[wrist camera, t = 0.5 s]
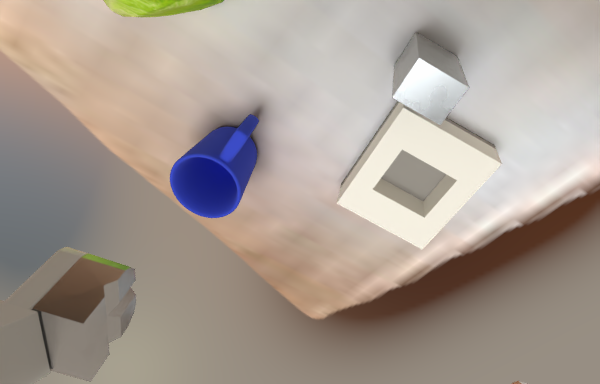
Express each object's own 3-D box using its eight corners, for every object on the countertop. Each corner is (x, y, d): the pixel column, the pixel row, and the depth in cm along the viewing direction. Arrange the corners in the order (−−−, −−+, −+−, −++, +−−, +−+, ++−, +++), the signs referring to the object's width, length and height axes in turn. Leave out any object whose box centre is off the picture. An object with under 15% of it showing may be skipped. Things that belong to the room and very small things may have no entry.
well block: (403, 92, 48) (403, 107, 44) (494, 145, 49) (501, 163, 46) (341, 184, 56) (336, 203, 52) (421, 227, 57) (422, 249, 53)
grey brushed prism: (415, 31, 45) (418, 57, 36) (457, 56, 45) (469, 87, 37) (394, 65, 47) (392, 97, 39) (433, 88, 47) (440, 125, 39)
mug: (293, 122, 53) (273, 160, 44) (244, 186, 59) (218, 230, 51) (237, 80, 51) (205, 112, 43) (193, 151, 58) (157, 190, 49)
